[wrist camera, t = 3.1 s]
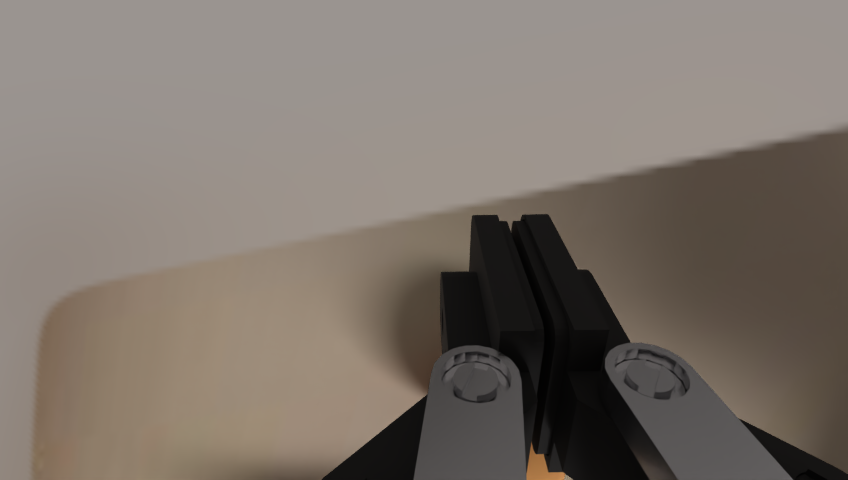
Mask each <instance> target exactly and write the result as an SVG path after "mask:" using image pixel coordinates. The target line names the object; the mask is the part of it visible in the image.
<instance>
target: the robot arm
mask: <svg viewBox="0 0 848 480" xmlns="http://www.w3.org/2000/svg"><path fill="white" fill-rule="evenodd" d="M440 322H441V343H442V355H441V357H440V358H439V359H438V360H437V361H436V362H435V364H434V367H433V369H432V372H431V378H430V384H429V390H428V394H427V395H426V396H425V397H424V398H422V399H421V400H420V401H419V402H417V403H416V404H415V405H414V406H412V407H411V408H410V409H409V410H407V411H406V412H405V413H404V414H402V415H401V416H400V417H399V418H397V419H396V420H395V421H394V422H392V423H391V424H390V425H389V426H387V427H386V428H385V429H384V430H382V431H381V432H380V433H379V434H377V435H376V436H375V437H374V438H372V439H371V440H370V441H369V442H368V443H366V444H365V445H364V446H363V447H361V448H360V449H359V450H358V451H356V452H355V453H354V454H353V455H351V456H350V457H349V458H348V459H346V460H345V461H344V462H343V463H341V464H340V465H339V466H338V467H336V468H335V469H334V470H333V471H331V472H330V473H329V474H328V475H326V476H325V477H324V478H323V479H322V480H527V477H526V473H527V468H528V462H529V455H530V448H531V442H532V447H533V450H534V452H535V454H544V458H545V461H546V465H547V469H548V472H564V473H565V474H566V475H568V476H569V477H571V478H572V479H573V480H848V474H846V473H844V472H843V471H841V470H839V469H838V468H836V467H834V466H832V465H830V464H828V463H826V462H824V461H822V460H820V459H818V458H816V457H814V456H812V455H810V454H808V453H806V452H804V451H802V450H800V449H798V448H796V447H794V446H792V445H790V444H788V443H786V442H784V441H782V440H780V439H778V438H776V437H775V436H773V435H771V434H769V433H767V432H765V431H763V430H761V429H759V428H757V427H755V426H753V425H751V424H749V423H747V422H745V421H743V420H741V419H739V418H737V417H736V415H735V414H734V413H733V412H732V411H731V410H730V409H729V408H728V406H727V405H726V404H725V403H724V402H723V401H722V400H721V399H720V398H719V396H718V395H717V394H716V393H715V392H714V391H713V390H712V389H711V388H710V386H709V385H708V384H707V383H706V382H705V381H704V380H703V379H702V378H701V376H700V375H699V374H698V373H697V372H696V371H695V370H694V369H693V368H692V367H691V366H690V365H689V364H688V363H687V362H686V361H685V360H683V359H682V358H681V357H679V356H678V355H676V354H674V353H672V352H671V351H669V350H666V349H664V348H661V347H658V346H655V345H651V344H645V343H631V342H630V340H629V339H628V337H627V335H626V333H625V332H624V330H623V328H622V326H621V325H620V323H619V321H618V319H617V318H616V316H615V314H614V312H613V311H612V309H611V307H610V305H609V304H608V302H607V300H606V298H605V297H604V295H603V293H602V291H601V290H600V288H599V286H598V284H597V283H596V281H595V279H594V277H593V275H592V274H591V273H590V272H589V271H588V270H578V269H577V267H576V265H575V263H574V262H573V260H572V258H571V256H570V254H569V252H568V250H567V248H566V247H565V245H564V243H563V241H562V239H561V237H560V235H559V233H558V231H557V230H556V228H555V226H554V224H553V222H552V220H551V218H550V216H549V215H548V214H534V215H522V217H521V221H513V224H512V230H511V231H510V228H509V226H508V223H507V221H499V218H498V216H497V215H473V216H472V221H471V242H470V264H469V272H441V280H440Z"/></svg>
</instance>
